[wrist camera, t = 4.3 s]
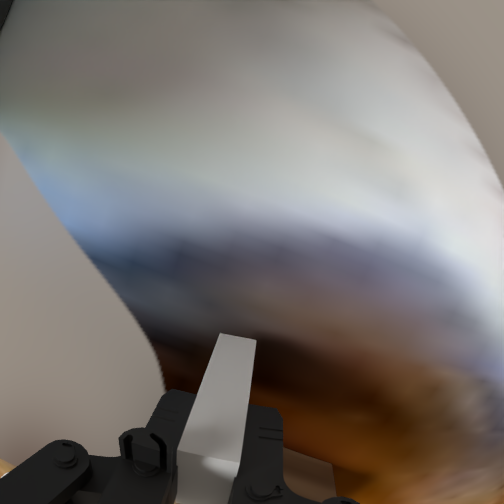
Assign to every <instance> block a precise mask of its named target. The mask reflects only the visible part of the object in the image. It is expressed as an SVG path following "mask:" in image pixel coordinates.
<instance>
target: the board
mask: <svg viewBox="0 0 504 504" xmlns="http://www.w3.org/2000/svg"><path fill="white" fill-rule="evenodd" d="M283 477H284V481H285V483H286V485H287V486H288V487H289V488H290V490H291V491H293V492H294V493H296V494H297V495H299V496H302V497H304V498H307V499H310V500H314V501H317V502H321V503H322V502H323V501H324V500H326V499H329V498H331V497H337V495H336V488H335V481H334V475H333V469H332V464H331V463H328V462H324V461H321V460H318V459H315V458H312V457H309V456H306V455H303V454H301V453H298V452H295V451H292V450H289V449H287V448H284V447H283ZM174 504H179V503H176V499H175V502H174Z"/></svg>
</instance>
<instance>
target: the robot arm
mask: <svg viewBox="0 0 504 504" xmlns="http://www.w3.org/2000/svg"><path fill="white" fill-rule="evenodd" d="M11 3H12V0H0V29H1V27H2V25H3V22H4V20H5V18H6V16H7V13H8V11H9V8H10V5H11ZM255 348H256V340H253V339H248V338H242V337H237V336H232V335H227V334H222V333H220V335H219V337H218V340H217V343H216V345H215V348H214V351H213V353H212V356H211V359H210V362H209V364H208V367H207V370H206V372H205V375H204V378H203V380H202V383H201V386H200V389H199V391H198V394H197V395H196V394H191V393H187V392H183V391H179V390H175V389H171V390H170V391H168V392H167V393H166V394H164V395H163V396H162V397H161V399H160V401H159V402H158V404H157V407H156V408H155V410H154V412H153V414H152V416H151V418H150V420H149V422H148V424H147V425H146V427H145V428H133V429H130V430H128V431H126V432H124V433H123V434H122V435H121V436H120V437H119V445H120V453H121V456H118V457H103V456H94V455H88V452H87V450H86V449H85V448H84V447H83V446H82V445H80V444H78V443H76V442H74V441H70V440H55V441H53V442H51V443H49V444H47V445H46V446H45V447H43V448H42V449H41V450H39V451H38V452H37V453H35V454H34V455H32V456H31V457H30V458H28V459H27V460H25V461H24V462H23V463H22V464H20V465H19V466H17V467H16V468H14V469H13V470H12V471H10V472H9V473H7V474H6V475H5V476H3V477H2V478H0V504H174V502H175V499H176V503H179V504H360V503H358V502H356V501H355V500H353V499H350V498H346V497H331V498H329V499H326V500H324V501H323V502H322V503H321V502H317V501H314V500H310V499H307V498H304V497H302V496H299V495H297V494H296V493H294V492H293V491H291V490H290V488H289V487H288V486H287V485H286V483H285V481H284V477H283V419H282V417H281V415H280V414H279V412H278V410H277V408H270V407H263V406H257V405H251V404H248V401H249V394H250V386H251V379H252V371H253V363H254V356H255Z"/></svg>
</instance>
